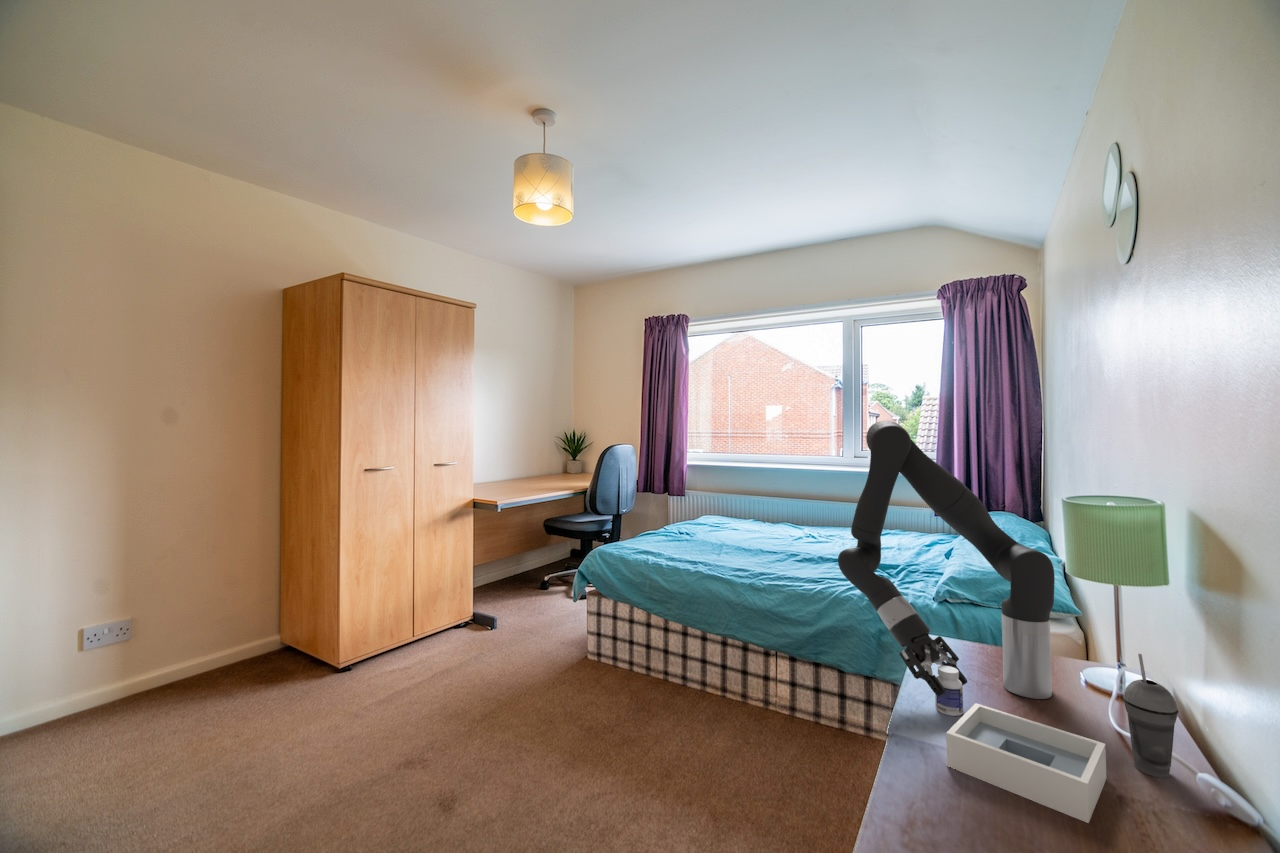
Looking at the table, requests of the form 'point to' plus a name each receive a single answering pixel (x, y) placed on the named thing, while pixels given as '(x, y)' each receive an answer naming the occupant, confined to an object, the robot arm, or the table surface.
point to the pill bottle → (950, 692)
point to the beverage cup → (1150, 724)
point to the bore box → (1029, 759)
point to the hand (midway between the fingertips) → (953, 689)
